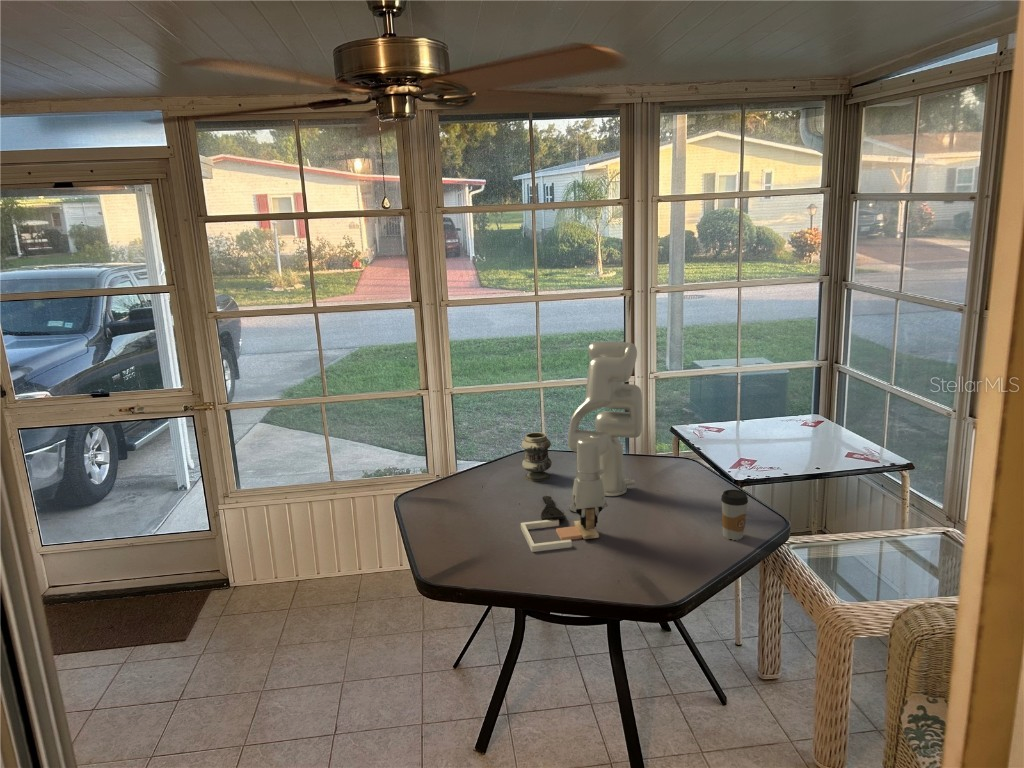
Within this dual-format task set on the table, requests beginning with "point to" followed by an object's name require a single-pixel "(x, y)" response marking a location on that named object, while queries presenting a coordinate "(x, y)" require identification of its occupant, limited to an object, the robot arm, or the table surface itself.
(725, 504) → the coffee cup
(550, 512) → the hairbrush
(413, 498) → the table surface
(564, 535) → the tile
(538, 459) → the carved stone vase
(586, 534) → the tan l-shaped bookend
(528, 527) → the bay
